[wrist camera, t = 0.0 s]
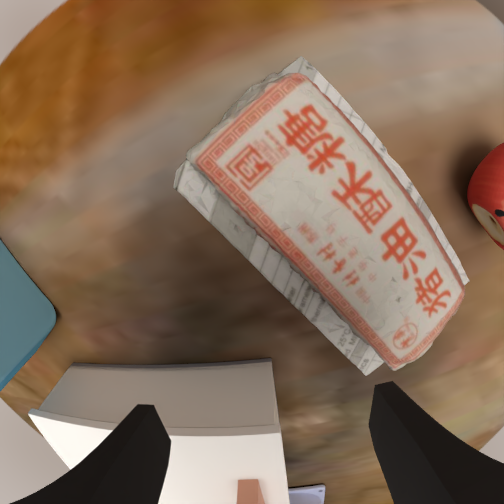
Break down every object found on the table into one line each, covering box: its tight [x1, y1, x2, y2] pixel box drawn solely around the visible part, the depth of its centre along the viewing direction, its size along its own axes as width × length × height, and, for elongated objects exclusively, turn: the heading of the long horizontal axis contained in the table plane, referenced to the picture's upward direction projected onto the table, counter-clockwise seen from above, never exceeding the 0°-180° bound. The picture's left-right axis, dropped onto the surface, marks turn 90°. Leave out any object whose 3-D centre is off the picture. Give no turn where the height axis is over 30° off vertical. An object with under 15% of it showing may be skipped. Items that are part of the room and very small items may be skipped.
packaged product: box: [173, 56, 469, 376], centre depth 15 cm, size 18×5×10 cm
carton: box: [38, 358, 280, 428], centre depth 20 cm, size 14×16×6 cm
